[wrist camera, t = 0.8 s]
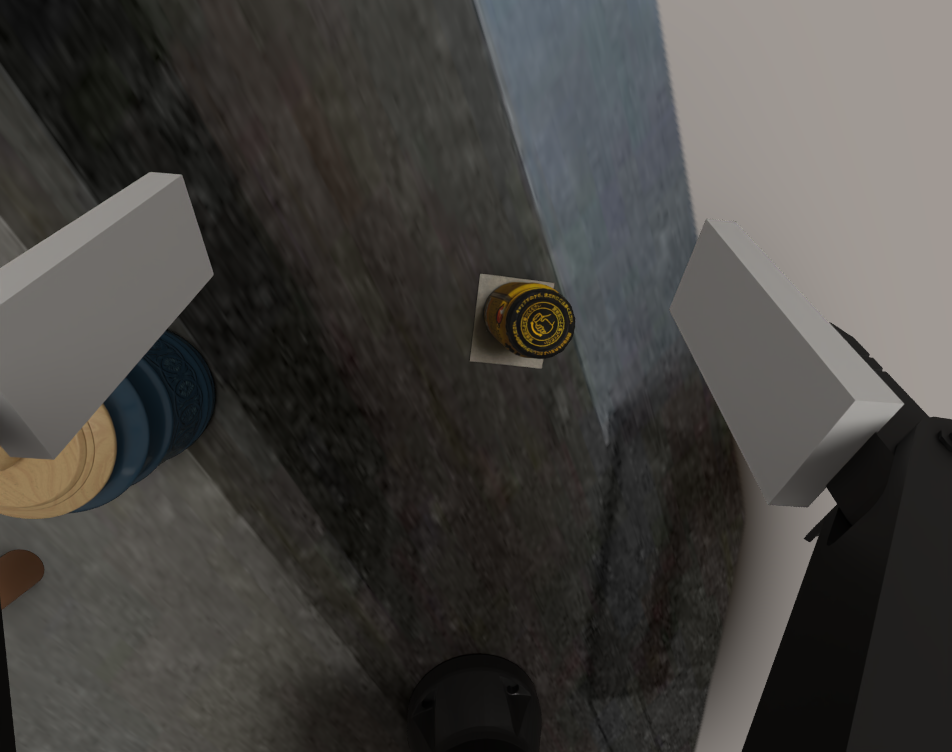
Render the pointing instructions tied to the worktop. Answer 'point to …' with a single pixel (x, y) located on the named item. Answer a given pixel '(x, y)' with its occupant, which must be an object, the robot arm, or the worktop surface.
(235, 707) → the worktop surface
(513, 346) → the condiment
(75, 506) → the canister
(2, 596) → the peg
